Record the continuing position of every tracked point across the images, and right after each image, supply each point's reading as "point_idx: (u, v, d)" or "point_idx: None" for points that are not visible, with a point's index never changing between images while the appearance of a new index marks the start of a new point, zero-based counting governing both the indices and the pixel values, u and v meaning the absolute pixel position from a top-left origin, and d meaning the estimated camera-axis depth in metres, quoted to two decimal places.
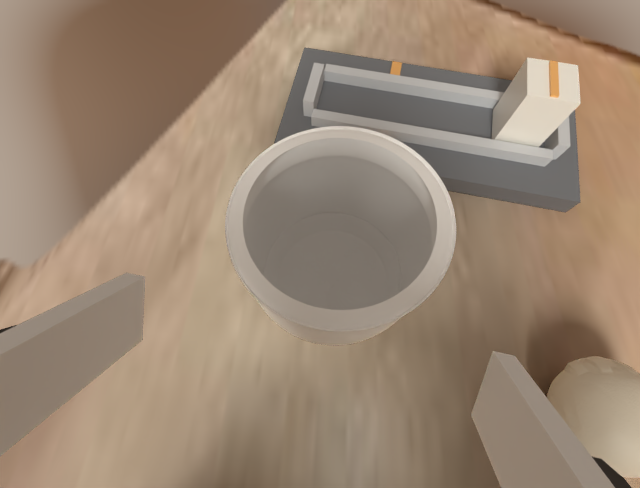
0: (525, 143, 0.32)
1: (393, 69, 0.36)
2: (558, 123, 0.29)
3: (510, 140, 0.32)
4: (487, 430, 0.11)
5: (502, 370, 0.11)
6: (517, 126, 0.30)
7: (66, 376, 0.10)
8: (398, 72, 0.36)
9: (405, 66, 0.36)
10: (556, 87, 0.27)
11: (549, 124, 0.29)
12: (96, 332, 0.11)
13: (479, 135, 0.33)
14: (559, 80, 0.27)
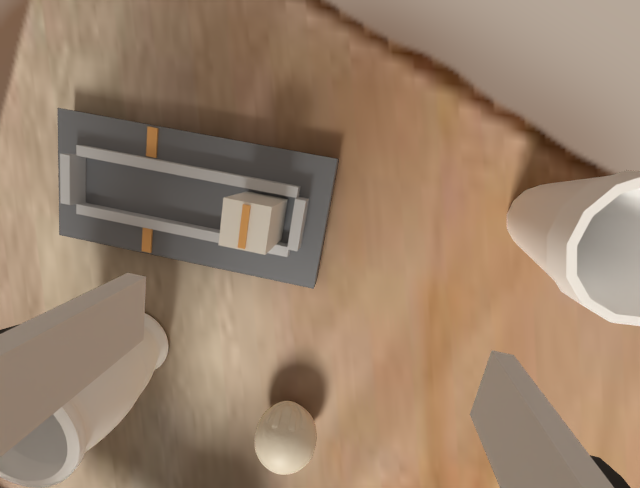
0: None
1: (149, 138, 0.33)
2: None
3: None
4: (486, 429, 0.11)
5: (501, 369, 0.11)
6: None
7: (68, 376, 0.10)
8: (154, 143, 0.33)
9: (162, 131, 0.33)
10: (243, 239, 0.28)
11: None
12: (97, 332, 0.11)
13: None
14: (250, 227, 0.28)
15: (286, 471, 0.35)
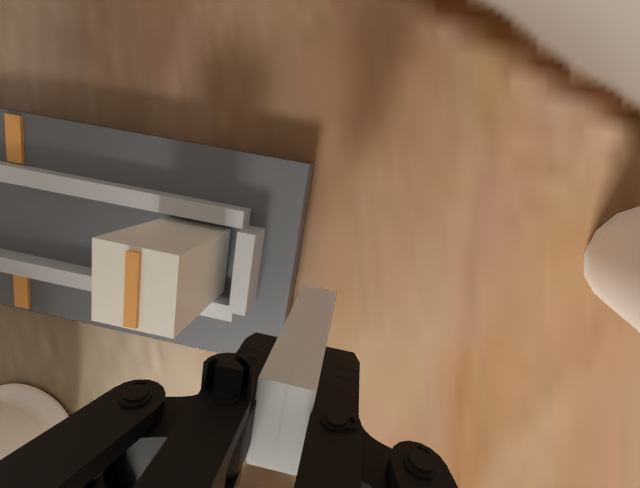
0: None
1: (9, 132, 0.21)
2: None
3: None
4: None
5: None
6: None
7: None
8: (17, 140, 0.21)
9: (29, 121, 0.21)
10: (132, 311, 0.15)
11: None
12: None
13: None
14: (144, 291, 0.15)
15: None
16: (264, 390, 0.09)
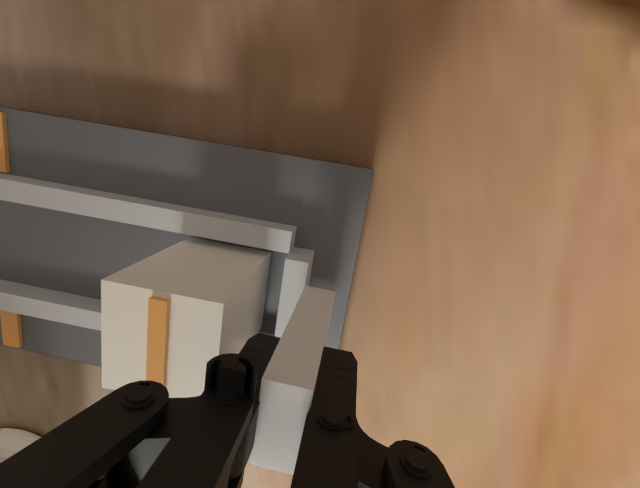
0: None
1: None
2: None
3: None
4: None
5: None
6: None
7: None
8: (0, 142, 0.17)
9: (14, 118, 0.16)
10: (157, 378, 0.11)
11: None
12: None
13: None
14: (173, 351, 0.11)
15: None
16: (267, 391, 0.09)
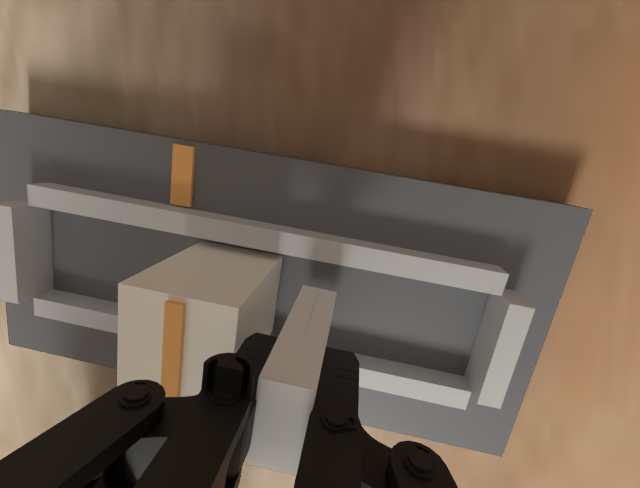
0: None
1: (177, 168, 0.16)
2: None
3: None
4: None
5: None
6: None
7: None
8: (187, 177, 0.16)
9: (204, 153, 0.16)
10: (173, 381, 0.11)
11: None
12: None
13: (347, 328, 0.17)
14: (188, 354, 0.11)
15: None
16: (264, 390, 0.09)
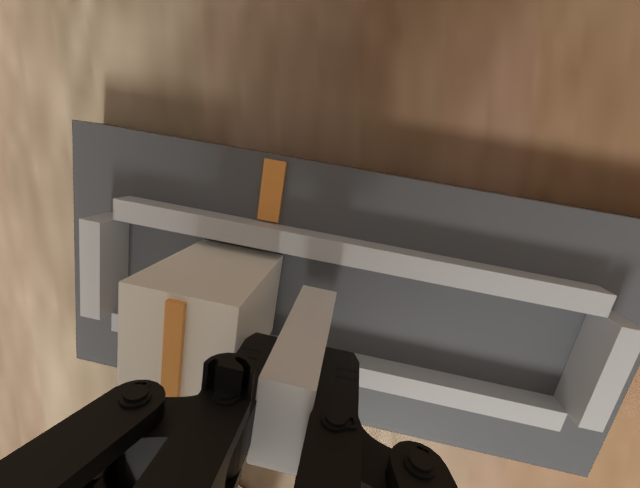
0: None
1: (267, 183, 0.16)
2: None
3: None
4: None
5: None
6: None
7: None
8: (277, 192, 0.16)
9: (295, 168, 0.16)
10: (172, 380, 0.11)
11: None
12: None
13: (433, 346, 0.17)
14: (188, 353, 0.11)
15: None
16: (264, 390, 0.09)
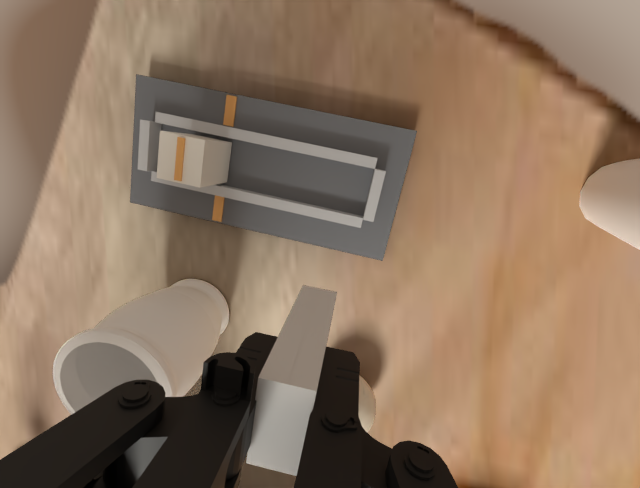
0: None
1: (227, 106, 0.34)
2: None
3: None
4: None
5: None
6: None
7: None
8: (232, 111, 0.34)
9: (241, 100, 0.33)
10: (179, 171, 0.29)
11: None
12: None
13: (307, 191, 0.35)
14: (185, 160, 0.29)
15: None
16: (264, 390, 0.09)
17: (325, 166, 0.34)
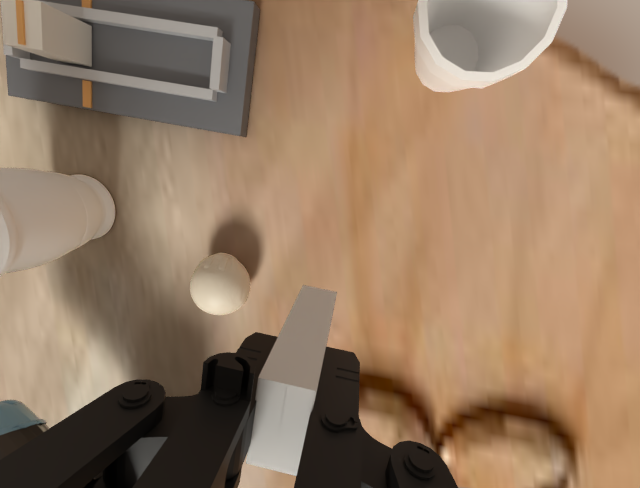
0: (75, 63, 0.37)
1: None
2: (61, 56, 0.34)
3: (62, 61, 0.37)
4: None
5: None
6: (45, 55, 0.35)
7: None
8: None
9: None
10: (21, 34, 0.32)
11: (59, 57, 0.35)
12: None
13: (164, 70, 0.37)
14: (26, 24, 0.32)
15: (216, 307, 0.38)
16: (264, 390, 0.09)
17: (177, 44, 0.36)
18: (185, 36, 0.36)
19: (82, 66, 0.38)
